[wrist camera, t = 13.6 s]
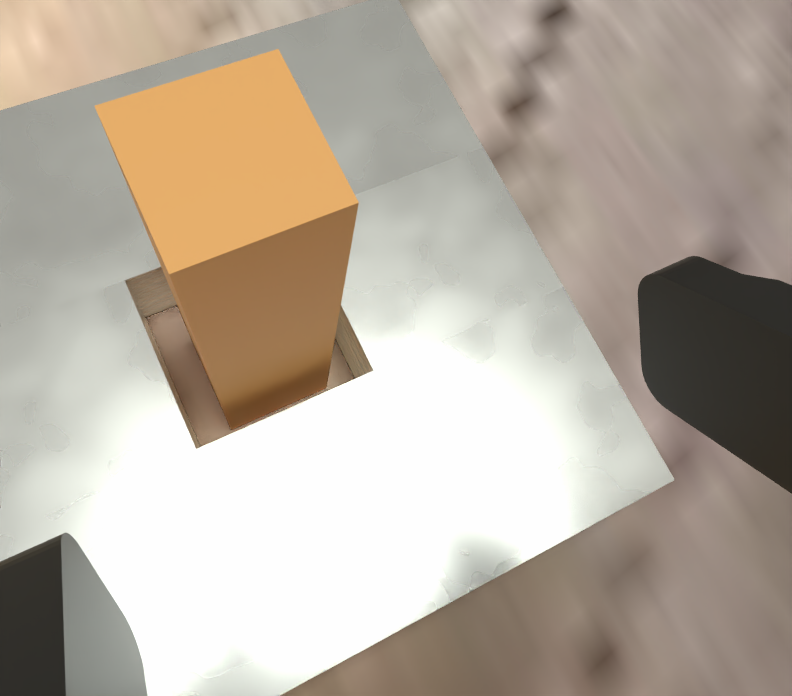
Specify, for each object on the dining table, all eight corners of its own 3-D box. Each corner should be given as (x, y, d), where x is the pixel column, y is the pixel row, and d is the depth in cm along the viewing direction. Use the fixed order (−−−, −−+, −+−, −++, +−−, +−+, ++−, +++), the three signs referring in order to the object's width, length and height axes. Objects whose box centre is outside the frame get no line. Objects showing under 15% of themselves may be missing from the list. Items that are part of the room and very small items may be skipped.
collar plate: (383, 53, 27) (394, -8, 25) (628, 492, 23) (674, 480, 21) (-129, 218, 23) (-188, 167, 20) (68, 794, 19) (29, 832, 16)
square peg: (284, 301, 24) (278, 48, 13) (326, 387, 23) (359, 202, 12) (191, 339, 23) (94, 105, 12) (231, 429, 22) (169, 274, 11)
